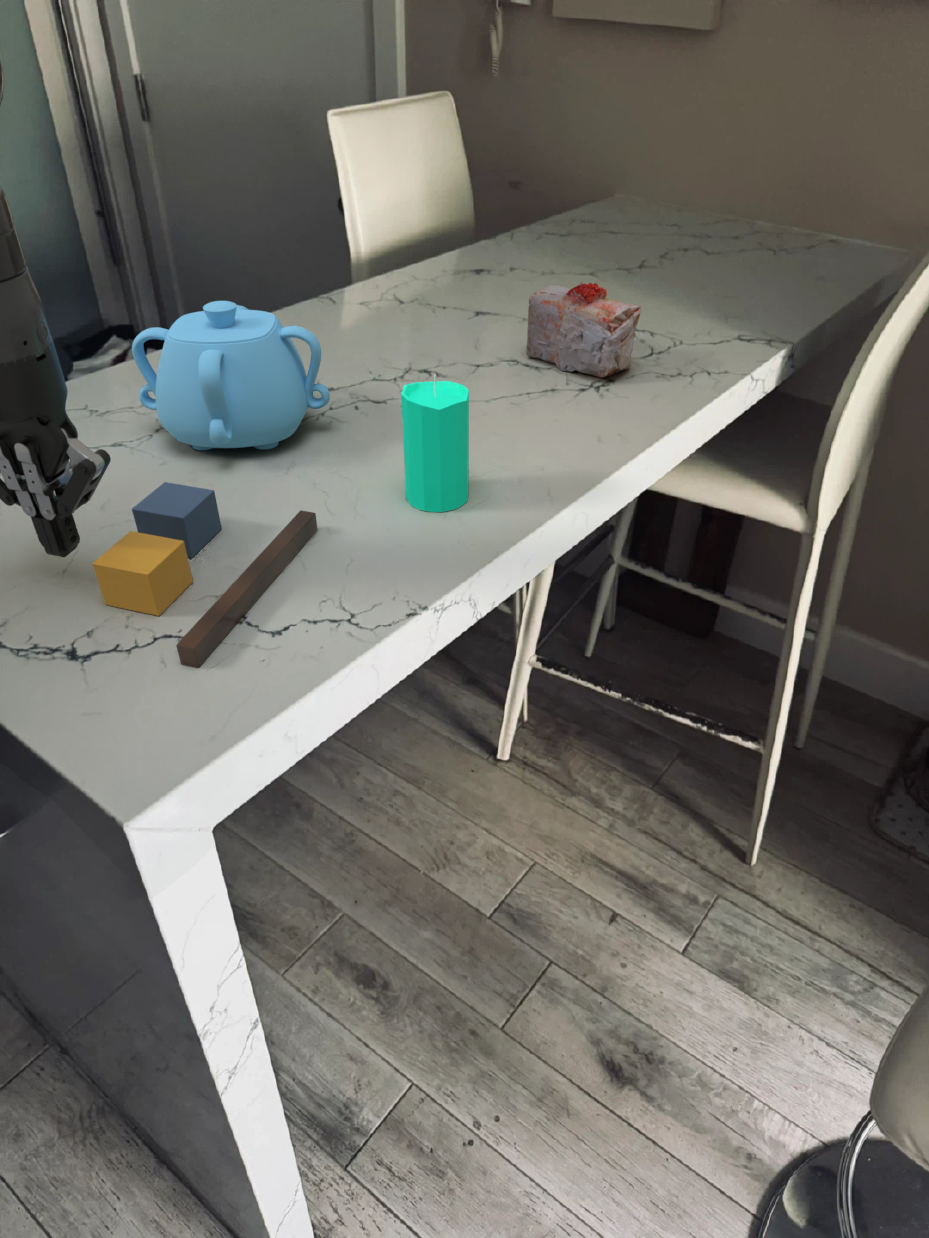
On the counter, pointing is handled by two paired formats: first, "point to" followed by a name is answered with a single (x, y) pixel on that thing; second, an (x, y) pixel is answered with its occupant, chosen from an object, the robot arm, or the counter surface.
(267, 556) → the straightedge
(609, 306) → the food item
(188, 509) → the slate block
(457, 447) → the candle
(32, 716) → the counter surface
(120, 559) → the ochre block
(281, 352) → the decorative pot
